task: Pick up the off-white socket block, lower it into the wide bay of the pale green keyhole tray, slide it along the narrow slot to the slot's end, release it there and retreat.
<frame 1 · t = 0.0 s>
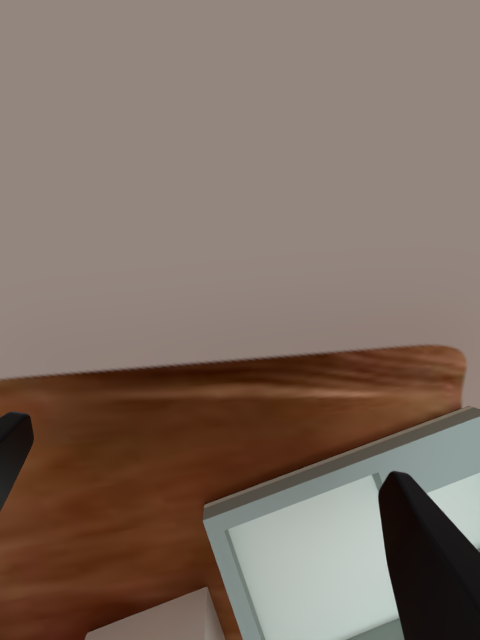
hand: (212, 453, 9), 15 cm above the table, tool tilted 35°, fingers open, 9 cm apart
keyhole tray: (369, 540, 24), on the table
socket block: (158, 638, 23), on the table
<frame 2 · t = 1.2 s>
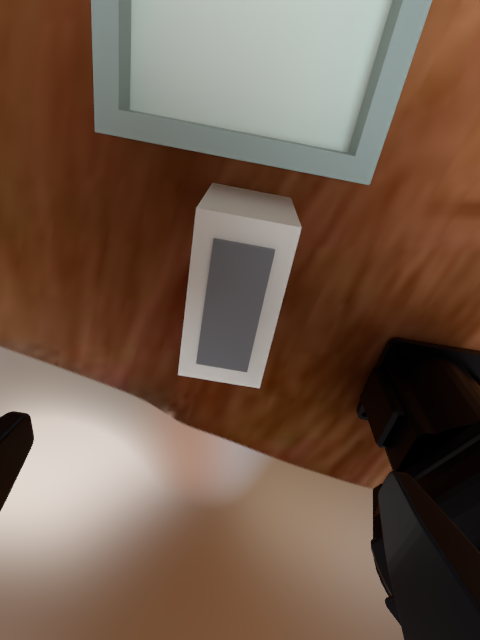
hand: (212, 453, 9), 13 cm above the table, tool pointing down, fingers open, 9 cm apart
socket block: (238, 263, 20), on the table
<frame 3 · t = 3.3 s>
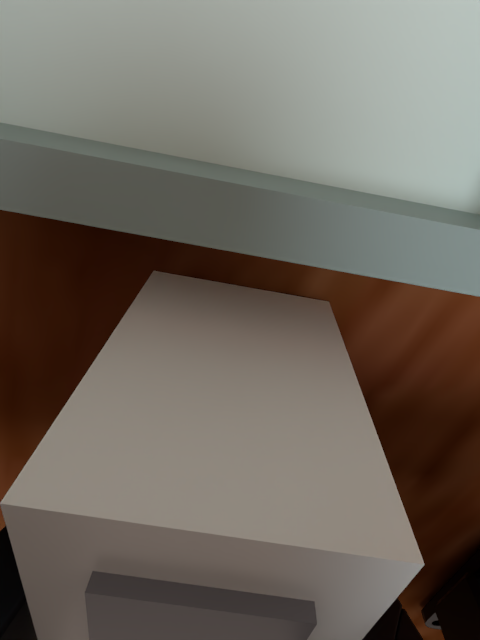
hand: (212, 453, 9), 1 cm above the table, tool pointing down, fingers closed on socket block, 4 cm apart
socket block: (217, 414, 10), on the table, touching gripper
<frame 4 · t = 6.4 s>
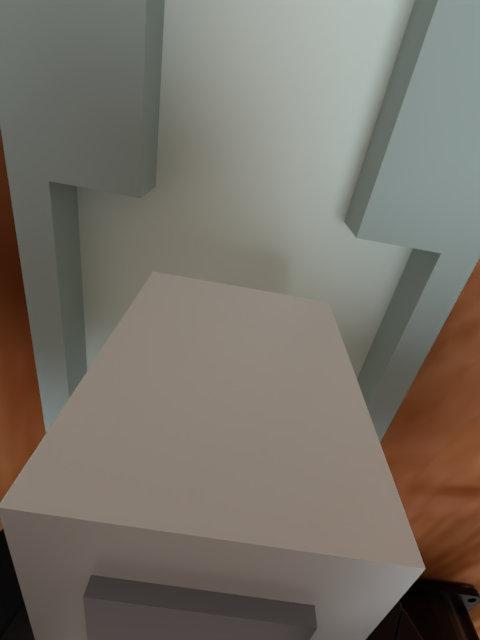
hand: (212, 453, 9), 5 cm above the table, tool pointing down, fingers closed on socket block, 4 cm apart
keyhole tray: (242, 248, 12), on the table
socket block: (217, 415, 10), point 4 cm above the table, touching gripper
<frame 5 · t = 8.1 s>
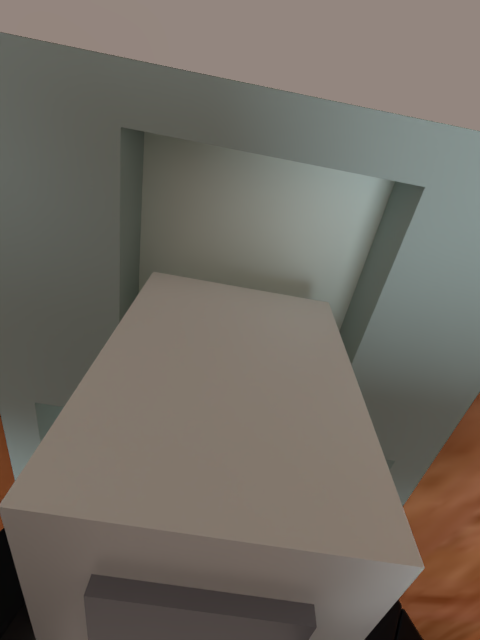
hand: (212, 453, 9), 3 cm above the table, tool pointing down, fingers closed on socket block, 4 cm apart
keyhole tray: (218, 417, 12), on the table
socket block: (217, 414, 10), point 2 cm above the table, touching gripper
when the fingers open (2 cm above the table, at t = 9.4 s): socket block stays where it is, resting on keyhole tray.
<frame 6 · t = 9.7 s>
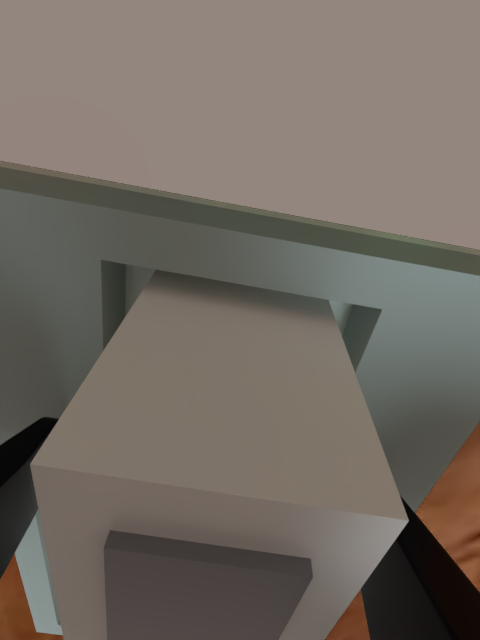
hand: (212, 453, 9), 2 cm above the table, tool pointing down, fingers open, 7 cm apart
keyhole tray: (204, 474, 13), on the table
socket block: (219, 403, 11), resting on keyhole tray
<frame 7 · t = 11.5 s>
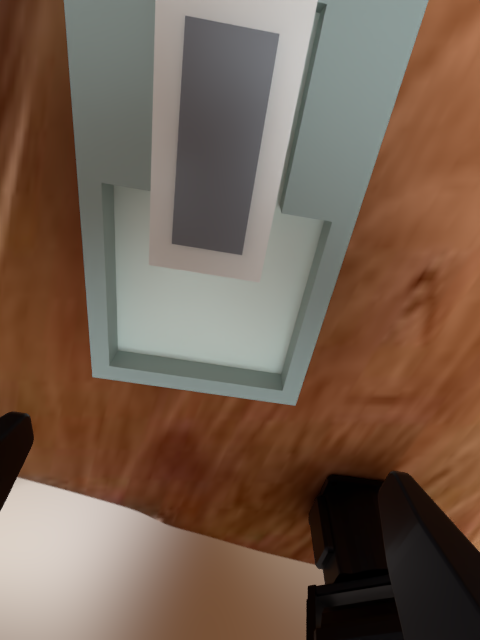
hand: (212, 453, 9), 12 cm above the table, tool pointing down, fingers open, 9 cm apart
keyhole tray: (218, 223, 18), on the table
socket block: (229, 136, 15), resting on keyhole tray
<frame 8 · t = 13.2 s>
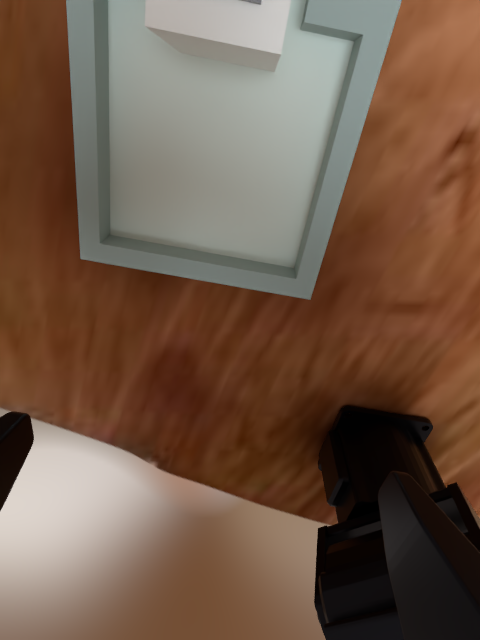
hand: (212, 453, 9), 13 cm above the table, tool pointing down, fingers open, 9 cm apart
keyhole tray: (228, 62, 16), on the table
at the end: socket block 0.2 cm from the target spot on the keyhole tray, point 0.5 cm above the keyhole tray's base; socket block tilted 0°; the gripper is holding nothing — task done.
